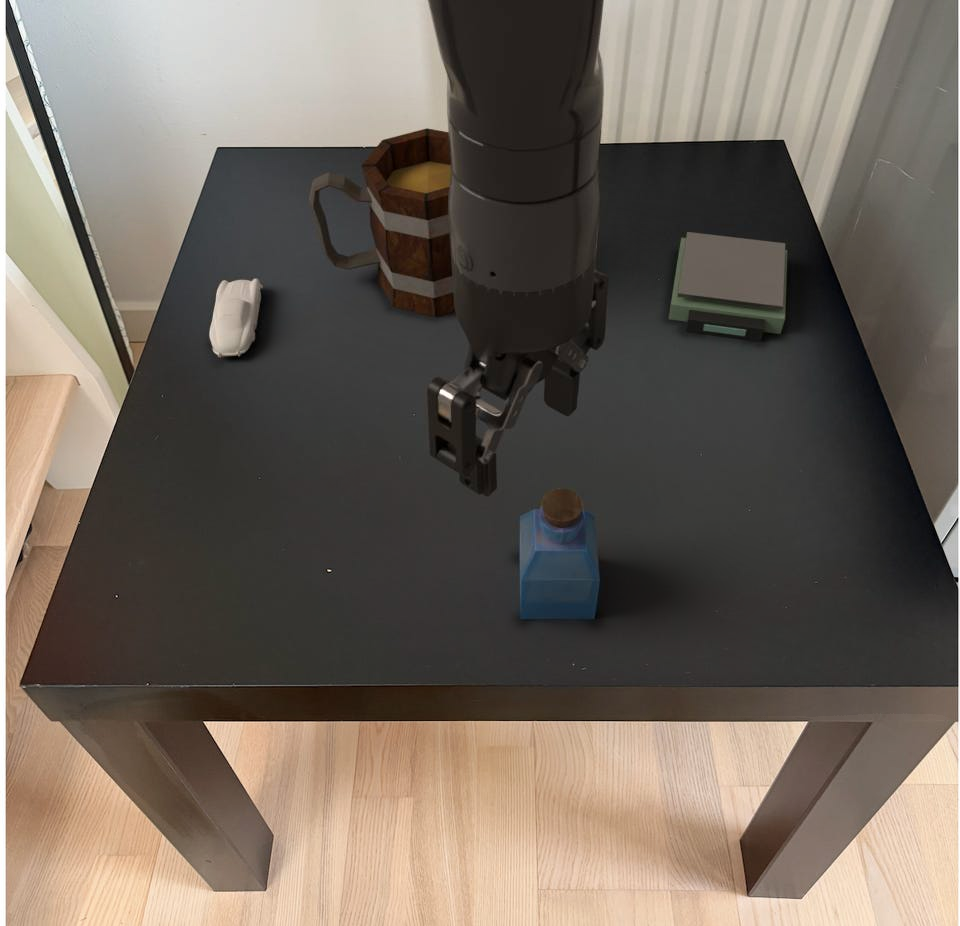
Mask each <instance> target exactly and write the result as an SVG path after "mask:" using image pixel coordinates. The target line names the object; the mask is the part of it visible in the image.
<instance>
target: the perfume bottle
mask: <svg viewBox="0 0 960 926" xmlns="http://www.w3.org/2000/svg"><path fill="white" fill-rule="evenodd" d="M540 503H541V504H540V506H539V507H540V508H539V509H532V510H530V511H529V512H527V513H525V514H522V515H521V516H520V517H519V595H520V596H519V597H520V598H519V599H520V601H519V603H520V620H595V616H596V609H597V602H598V595H599V589H600V588H599V587H600V580H601V579H600V566H599V555H598V554H599V553H598V543H597V541H598V539H597V531H596V530H597V529H596V517H595V515H593V514H592V513H591V512H589V511H587V510H586V509H584V508H583V505H584V503H583V500H582V498H581V496H580V495H579V494H578V493H577V492H575V491H573V490H572V489H569V488H563V487H558V488H553V489H551V490H549V491H547V492H546V493H545V494H544V496H543V497H542V499H541V502H540Z"/></svg>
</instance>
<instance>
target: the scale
mask: <svg viewBox="0 0 960 926" xmlns="http://www.w3.org/2000/svg"><path fill="white" fill-rule="evenodd" d="M685 241H686V237H681V239H680V245H679V250H678V256H677V262H676V269H675V275H674V281H673V289H672V294H671V300H670V308H669V314H668V320H671V321H680V322H685V323H686V326H685V332H686V333H695V334H703V335H709V336H710V335H711V336H715V337H716V336H717V337H724V338H725V337H726V338H730V339H731V338H732V339H738V340H739V339H740V340H747V341H753V342H762V340H763V336H764V334H765V333H770V334H777V335H781V333H782V330H783V327H784V324H785V320H786V303H787V278H788V277H787V276H788V249H785V267H784V294H783V308H782V310H775V309H768V308H760V307H752V306H744V305H736V304H729V303H721V302H713V301H705V300H698V299H690V298H682V297H677V295H678V289H679V282H680V275H681V268H682V262H683V255H684V248H685Z"/></svg>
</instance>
